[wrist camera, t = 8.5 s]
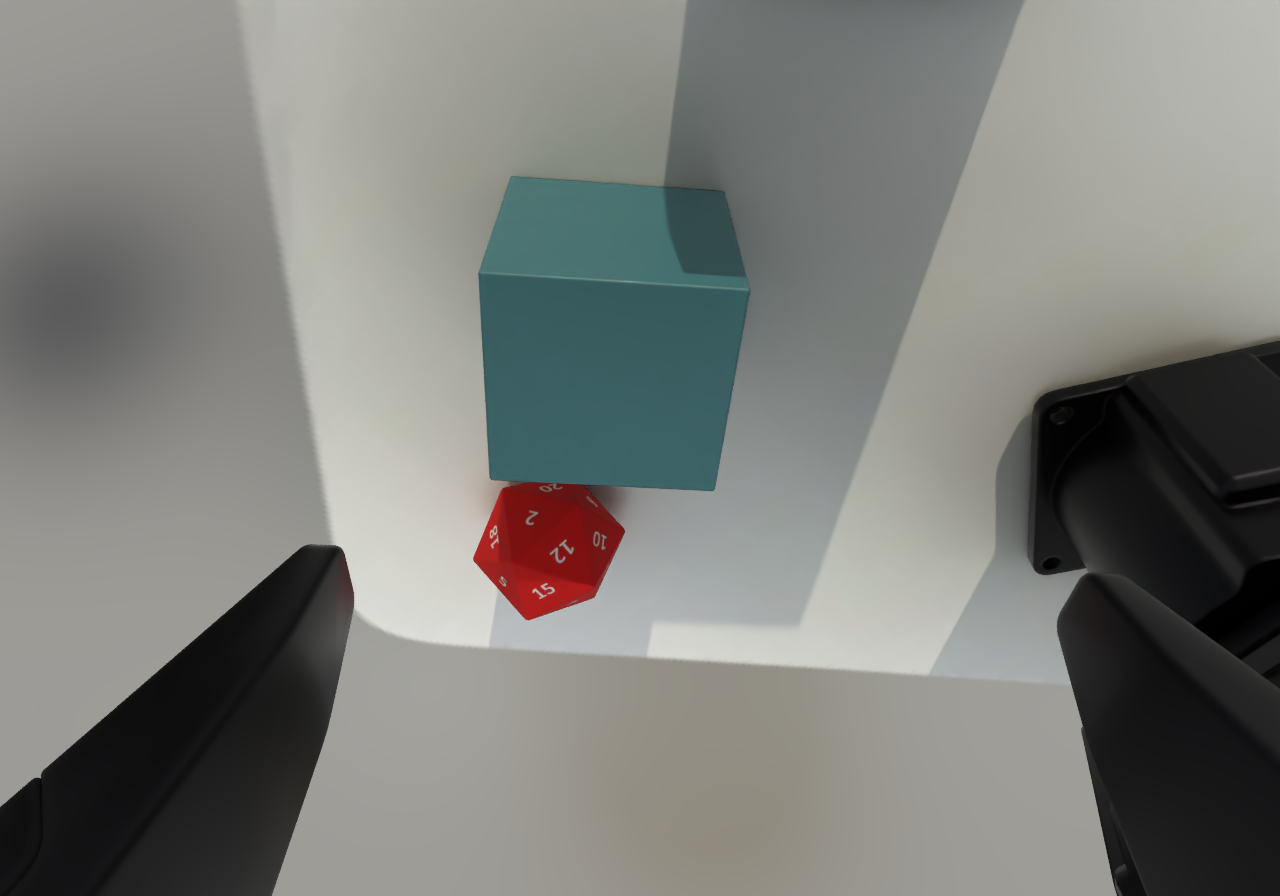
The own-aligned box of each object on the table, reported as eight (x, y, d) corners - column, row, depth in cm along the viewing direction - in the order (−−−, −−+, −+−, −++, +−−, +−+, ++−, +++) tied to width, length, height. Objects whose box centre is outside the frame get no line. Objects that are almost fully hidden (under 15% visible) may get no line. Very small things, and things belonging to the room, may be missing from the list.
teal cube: (699, 371, 19) (714, 492, 16) (515, 359, 19) (489, 481, 16) (725, 190, 17) (751, 289, 13) (510, 175, 16) (477, 271, 13)
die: (466, 581, 22) (541, 671, 20) (438, 489, 20) (518, 576, 18) (572, 521, 24) (655, 597, 21) (556, 430, 22) (646, 503, 19)
